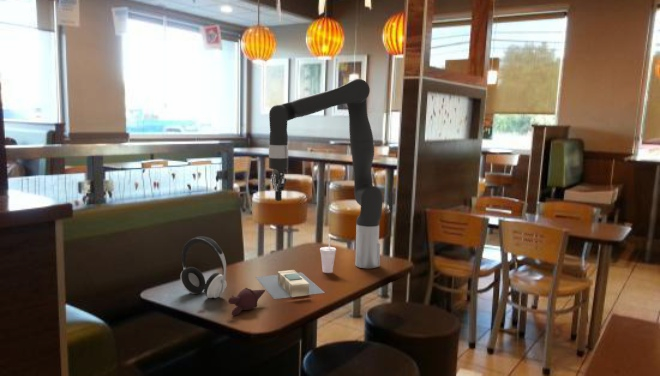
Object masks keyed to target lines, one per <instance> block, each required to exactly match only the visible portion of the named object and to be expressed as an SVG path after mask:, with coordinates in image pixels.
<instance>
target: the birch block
mask: <svg viewBox="0 0 660 376" xmlns="http://www.w3.org/2000/svg"><path fill="white" fill-rule="evenodd" d="M298 273H299V272H297V271H296V270H295V269H289V270H281V271H277V275H278V283H279V284H280V285H281V286H282V287H283V288H284V289H285V290H286V291H287V292H288V293H289V295H290V296H291V297H290V298H295V297H304V296H310V295H309V283H308V282H307V281H306V280H305V279H304V278H302V277H301V276H300V275H299V274H298Z"/></svg>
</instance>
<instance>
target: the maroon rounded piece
mask: <svg viewBox="0 0 660 376" xmlns="http://www.w3.org/2000/svg"><path fill="white" fill-rule="evenodd" d="M265 292H266V289H251V288H248V287H245V288H243V289H241V290H240V291H239V292H238V294H237V296H235V295H232V296H231V297H229V298H228V300H227V302H228V303H229V305H235V306H236V307H234V308H233V309H232V310H231V315H232V316H233V317H235V316H238V315H239V314H240V313H241V312H242V311H250V310H252V309H255V308H257V307H258V301H259V300H260V298H261V297H262V296H263V294H264V293H265Z"/></svg>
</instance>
